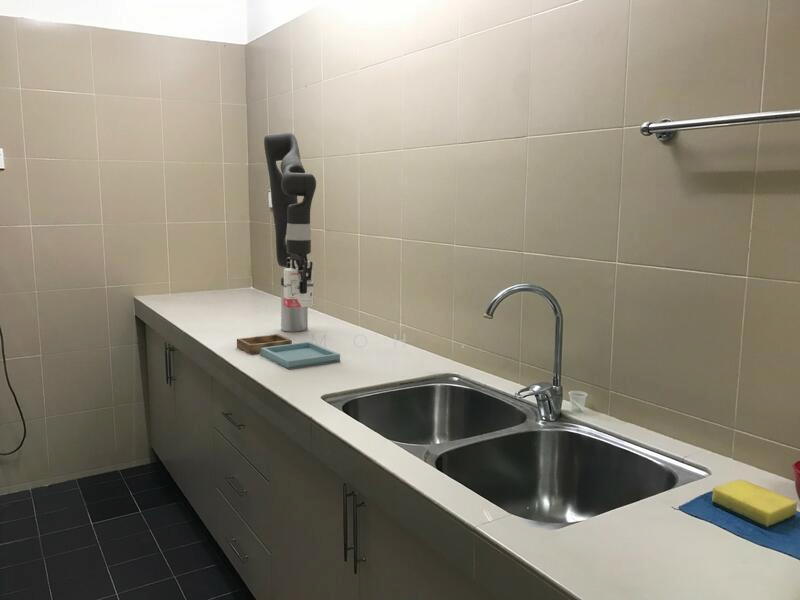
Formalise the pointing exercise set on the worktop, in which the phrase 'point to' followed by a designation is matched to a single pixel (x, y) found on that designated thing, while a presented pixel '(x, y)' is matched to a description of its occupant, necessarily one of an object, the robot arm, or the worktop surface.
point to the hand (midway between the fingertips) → (298, 291)
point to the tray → (299, 355)
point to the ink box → (297, 290)
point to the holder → (261, 343)
